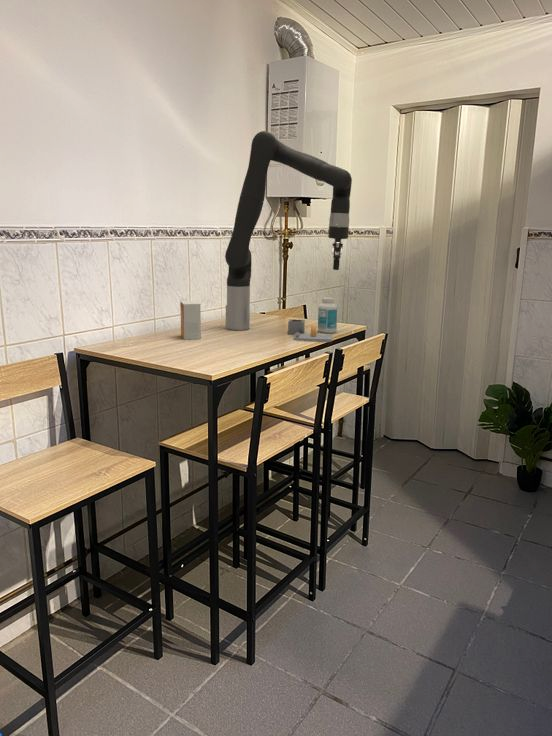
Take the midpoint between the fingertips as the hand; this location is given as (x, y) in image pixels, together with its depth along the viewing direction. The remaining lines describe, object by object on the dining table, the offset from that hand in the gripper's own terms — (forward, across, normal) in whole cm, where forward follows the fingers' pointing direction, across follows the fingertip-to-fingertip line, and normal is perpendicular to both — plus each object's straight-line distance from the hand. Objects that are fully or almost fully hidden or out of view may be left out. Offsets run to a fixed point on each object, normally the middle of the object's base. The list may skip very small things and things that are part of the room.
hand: (335, 269), depth 222 cm
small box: (+26, +20, -52) cm, 62 cm away
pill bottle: (+25, -2, -2) cm, 25 cm away
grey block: (+25, +4, -14) cm, 29 cm away
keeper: (+25, +14, -7) cm, 30 cm away
